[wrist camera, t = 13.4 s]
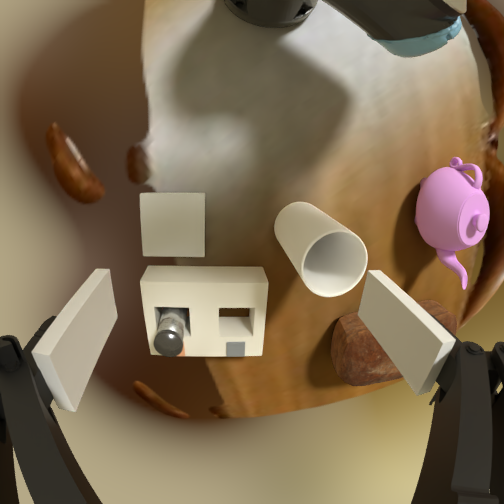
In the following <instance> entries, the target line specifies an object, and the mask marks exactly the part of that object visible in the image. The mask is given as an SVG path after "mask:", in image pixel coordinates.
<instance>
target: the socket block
mask: <svg viewBox="0 0 504 504" xmlns="http://www.w3.org/2000/svg"><path fill="white" fill-rule="evenodd" d="M268 284H269V282H268V280H267V277H266V274H265V272H264V269H263V267H232V266H151V265H148V267H147V269H146V271H145V273H144V274H143V276H142V278H141V280H140V286H141V294H142V302H143V309H144V316H145V323H146V329H147V335H148V341H149V347H150V352H151V355H161V354H159V353H158V352H157V351H156V350H155V348H154V344H153V343H154V339H155V335H156V334H157V330H158V326H159V323H160V319H161V316H162V307H185V308H189V313H190V316H188V317H187V316H186V323H185V330H184V338H183V350H182V352H181V353H180V354H179V355H177V356H227V357H238V356H262V349H263V339H264V329H265V318H266V307H267V296H268ZM219 308H250V311H249V317H219Z"/></svg>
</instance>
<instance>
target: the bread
mask: <svg viewBox="0 0 504 504" xmlns="http://www.w3.org/2000/svg"><path fill="white" fill-rule="evenodd" d="M416 303H417V304H419V305H420V306H421V307H422V308H423V309H424V310H425V311H426V312H428V313H430V314H431V315H433V316H435V317H436V318H437V319H438V320H439V321H440V323H442V324H443V325H444V326H445V328H447V329H448V330H449V331H451V332H452V333H453V334H454V335H455V334H456V327H457V321H456V317H455V315H454V314H453V313H451V312H448V311H447V310H446V309H445V308H444V307H443V306H442V305H441V304H439V303H438V302H436V301H433V300H424V301H420V302H416ZM331 358H332V362H333V366H334V369H335V371H336V372H337V374H338V376H339V377H340V378H341V379H342V380H343V381H344V382H345V383H348V384H350V385H352V386H365V385H370V384H374V383H380V382H385V381H390V380H394V379H398V378H402V377H403V375H402V374H401V373H400V371H399V370H398V368H397V367H396V366H395V364H394V363H393V362H392V360H391V359H390V357H389V356H388V355H387V353H386V352H385V351H384V349H383V348H382V347H381V345H380V344H379V343H378V341H377V340H376V339H375V337H374V336H373V334H372V333H371V332H370V331H369V329H368V328H367V327H366V325H365V324H364V323H363V321H362V320H361V319H360V317H359V316H358V312H355V313H351V314H347V315H345V316H343V317H341V318H339V320H338V322H337V324H336V325H335V329H334V332H333V336H332V341H331Z"/></svg>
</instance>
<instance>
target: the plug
mask: <svg viewBox="0 0 504 504" xmlns="http://www.w3.org/2000/svg"><path fill="white" fill-rule="evenodd" d="M187 310H188V308H185V307H164V308H163V312H162V316H161V319H160V323H159V326H158V330H157V334H156V335H155V339H154V343H153V344H154V348H155V350H156V351H157V352H158V353H159V354H161V355H163V356H166V357H174V356H177V355H179V354H180V353H181V352H182V350H183V338H184V330H185V323H186V316H187Z"/></svg>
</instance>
